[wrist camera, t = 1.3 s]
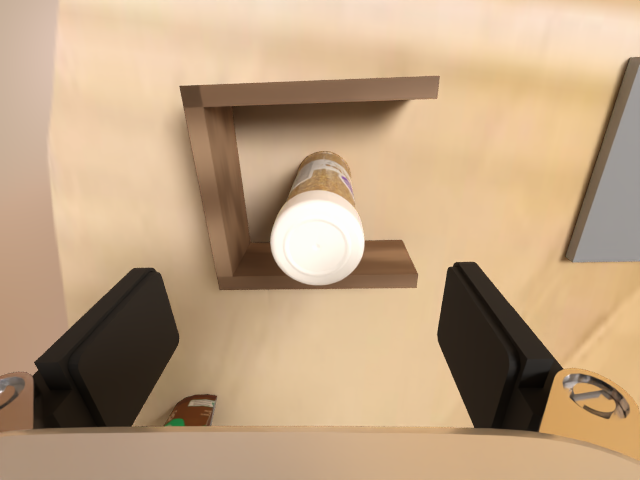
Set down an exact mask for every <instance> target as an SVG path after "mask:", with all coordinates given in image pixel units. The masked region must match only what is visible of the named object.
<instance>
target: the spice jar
mask: <svg viewBox="0 0 640 480" xmlns="http://www.w3.org/2000/svg"><path fill="white" fill-rule="evenodd" d="M354 205H355V201H354V196H353V189H352V183H351V173H350V169H349V167H348V165H347V163H346V162H345V160H343V159H342V158H341V157H340V156H339V155H337V154H335V153H332V152H328V151H321V152H316V153H314V154H311V155H310V156H308V157H306V159H305V160H304V161H303V162H302V163H301V165H300V167H299V170H298V174H297V176H296V178H295V181H294V183H293V186H292V188H291V191H290V193H289V195H288V198H287V201H286V203H285V204H284V206H283V207H282V208H281V210H280V211H279V213H278V215H277V217H276V220H275V222H274V225H273V228H272V232H271V238H270V245H271V251H272V255H273V257H274V259H275V261H276V263H277V265H278V266H279V267H280V269H281V270H282V271H283V272H284V273H285V274H287V275H288V276H289V277H291V278H292V279H294V280H296V281H299V282H301V283H304V284H308V285H328V284H332V283H335V282H338V281H340V280H342V279H344V278H345V277H347V276H348V275H349V274H350V273H352V272H353V271H354V269H355V268H356V267H357V265H358V264H359V262H360V260H361V258H362V256H363V252H364V232H363V227H362V223H361V219H360V217H359V215H358V213H357V211H356V210H355V207H354Z"/></svg>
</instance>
